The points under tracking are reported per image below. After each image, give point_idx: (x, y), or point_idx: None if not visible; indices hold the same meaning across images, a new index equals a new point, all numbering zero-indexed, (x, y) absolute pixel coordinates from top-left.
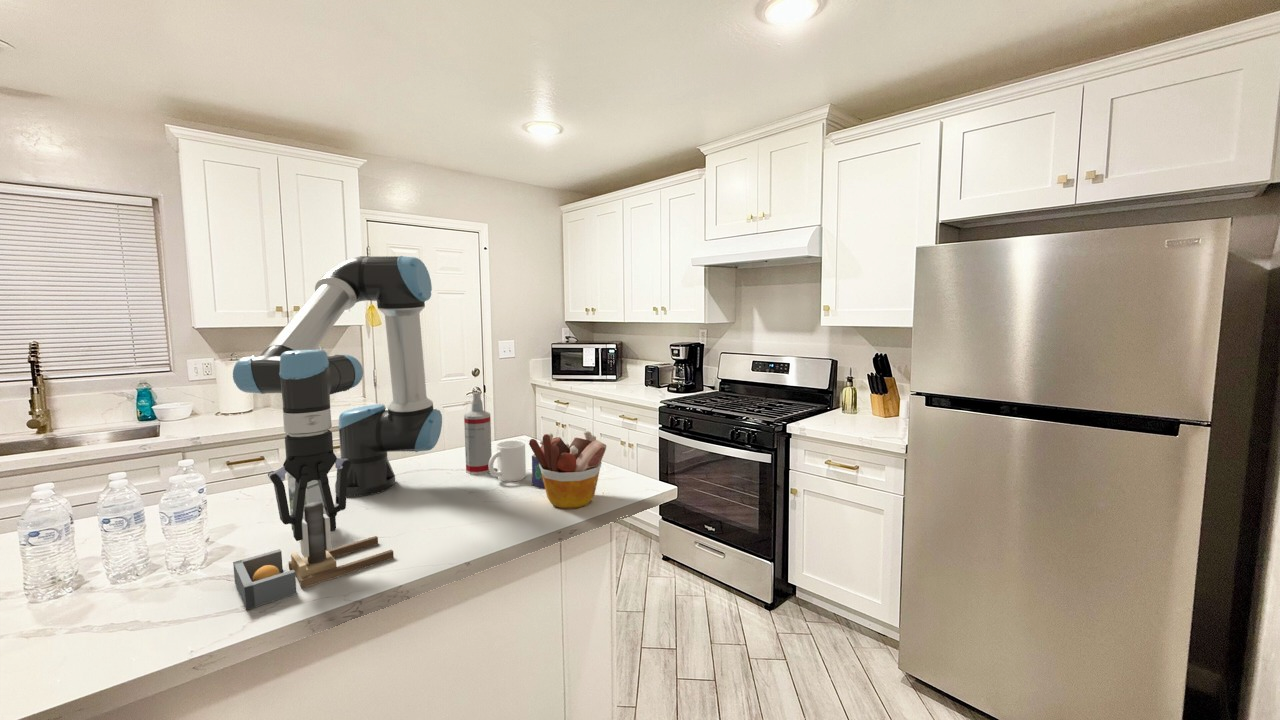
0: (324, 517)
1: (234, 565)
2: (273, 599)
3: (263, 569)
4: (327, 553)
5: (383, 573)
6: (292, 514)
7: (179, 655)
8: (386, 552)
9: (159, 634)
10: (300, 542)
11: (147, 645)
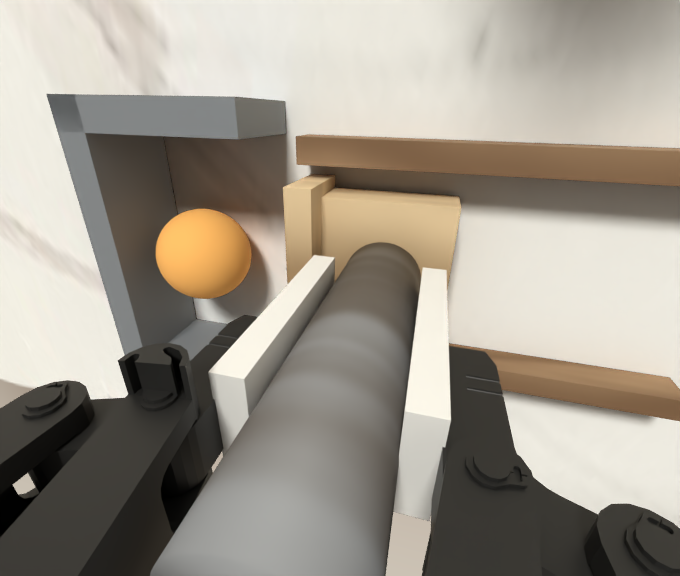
0: (397, 489)
1: (63, 141)
2: None
3: (173, 284)
4: (443, 248)
5: (540, 452)
6: (100, 437)
7: (94, 395)
8: (648, 409)
9: (33, 285)
10: (291, 281)
11: (28, 313)
